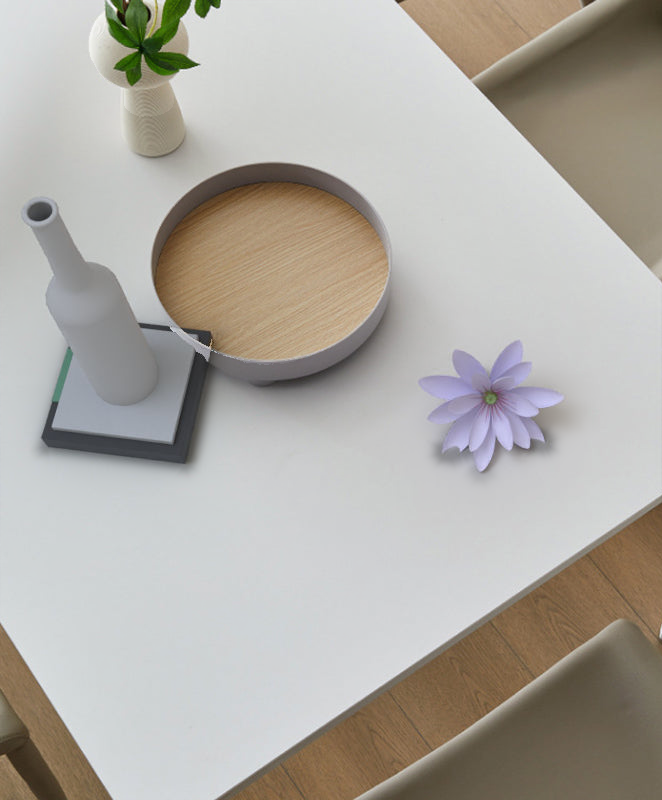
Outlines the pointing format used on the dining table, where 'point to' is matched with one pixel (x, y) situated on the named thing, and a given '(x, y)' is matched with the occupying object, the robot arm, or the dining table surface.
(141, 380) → the bottle
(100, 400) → the scale
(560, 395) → the water lily
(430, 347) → the dining table surface
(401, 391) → the dining table surface
